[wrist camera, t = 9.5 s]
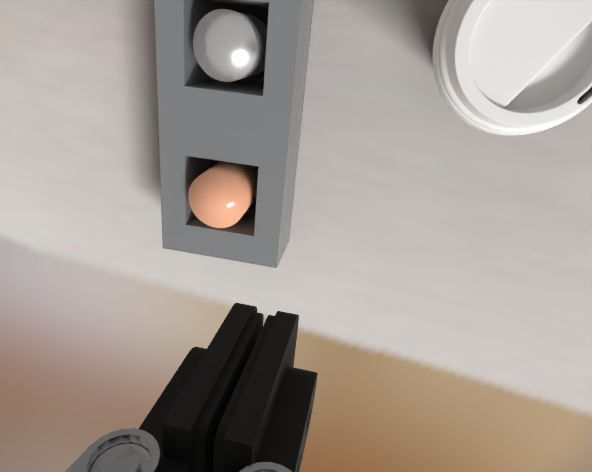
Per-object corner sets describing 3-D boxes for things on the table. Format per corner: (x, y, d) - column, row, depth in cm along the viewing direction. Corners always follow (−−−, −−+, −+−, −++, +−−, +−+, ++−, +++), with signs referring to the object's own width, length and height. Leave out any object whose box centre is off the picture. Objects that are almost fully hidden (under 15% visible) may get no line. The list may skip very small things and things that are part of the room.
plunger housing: (316, -28, 34) (305, -42, 29) (288, 241, 44) (276, 267, 39) (186, -40, 35) (152, -55, 30) (188, 224, 46) (162, 248, 40)
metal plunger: (275, 17, 36) (259, 12, 31) (271, 80, 38) (255, 85, 33) (218, 11, 36) (192, 5, 31) (216, 73, 38) (193, 77, 33)
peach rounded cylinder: (262, 160, 40) (246, 176, 35) (259, 210, 42) (243, 232, 37) (211, 153, 40) (188, 167, 35) (210, 202, 42) (188, 223, 37)
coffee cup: (441, 127, 37) (478, 172, 24) (395, 21, 35) (406, 6, 21) (557, 69, 34) (676, 84, 21) (516, -52, 31) (620, -126, 18)
